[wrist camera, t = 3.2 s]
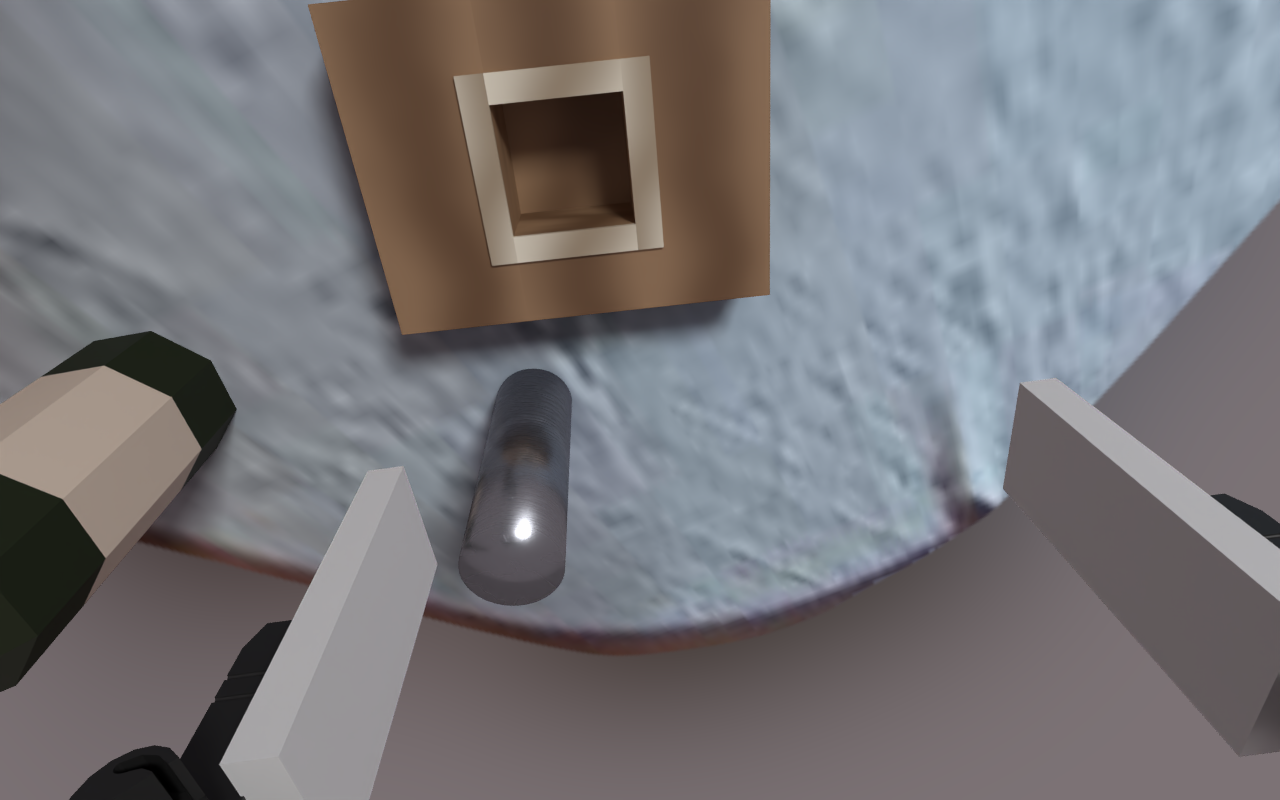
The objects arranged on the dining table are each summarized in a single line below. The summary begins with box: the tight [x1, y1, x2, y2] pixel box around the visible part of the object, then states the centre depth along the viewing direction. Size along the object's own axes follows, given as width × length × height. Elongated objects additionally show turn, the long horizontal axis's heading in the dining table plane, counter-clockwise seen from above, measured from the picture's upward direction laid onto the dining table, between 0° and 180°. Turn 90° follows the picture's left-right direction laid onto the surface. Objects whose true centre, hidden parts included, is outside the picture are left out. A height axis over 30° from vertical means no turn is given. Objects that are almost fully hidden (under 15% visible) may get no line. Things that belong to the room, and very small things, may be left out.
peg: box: [459, 369, 572, 606], centre depth 35 cm, size 4×4×14 cm
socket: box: [308, 0, 770, 335], centre depth 32 cm, size 18×14×5 cm
